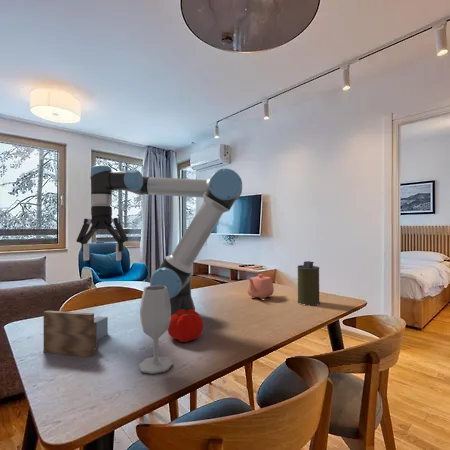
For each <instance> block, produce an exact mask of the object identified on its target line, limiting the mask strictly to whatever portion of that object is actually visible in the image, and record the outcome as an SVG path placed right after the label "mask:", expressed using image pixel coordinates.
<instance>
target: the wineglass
mask: <svg viewBox="0 0 450 450" xmlns="http://www.w3.org/2000/svg"><path fill="white" fill-rule="evenodd" d="M143 288H144V289H143V290H142V291H143V292H142V295H141V301H140V308H139V309H140V310H139V319H140V324H141V327H142V330H143V333H144V334H145V335H146V336H148V337H150V338H151V339H152V340H153V341H152V342H153V343H152V345H153V346H152V347H153V349H152V351H153V352H152V353H153V355H152V357H148V358H147V357H146V358H145V359H144V360H142V361H141V362H140V363H139V364H138V365H139V370H140V372H141V373H143V374H150V375H151V374H152V375H154V374H160V373H164V372H167V371H168V370H169V369H170V368H171V367H172V366H173V362H172V359H171V358H170V357H167V356H159V353H160V352H159V351H160V349H159V339H160V338H161V337H162V336H163V335H164V334H165V333H166V332H168V329H169V325H170V320H171V304H170V298H169V293H168V290H167V287H166V286H159V285H156V286H150V285H149V286H146V287H143Z"/></svg>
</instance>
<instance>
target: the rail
mask: <svg viewBox="0 0 450 450" xmlns="http://www.w3.org/2000/svg"><path fill="white" fill-rule="evenodd" d="M108 318H109V317H108V316H101V315H97V316H94V322H97V341H98V340H100V339H102V338H104V337H105V336H107V335H108V334H109V328H108V324H109V323H108Z"/></svg>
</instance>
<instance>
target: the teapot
mask: <svg viewBox="0 0 450 450" xmlns="http://www.w3.org/2000/svg"><path fill="white" fill-rule="evenodd" d="M274 289H275V288H274V283H273V281H272V278H271V277H270V276H265V275H264V274H261V273H258V274H257V276H252V277H250V278H248V285H247V290H246V291H247V294H248V296H250V298H251V297H255V298H259V299H265V298H267V297H271V296H272V295H273V294H274V292H275V291H274ZM265 300H266V299H265Z"/></svg>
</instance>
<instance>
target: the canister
mask: <svg viewBox="0 0 450 450" xmlns="http://www.w3.org/2000/svg"><path fill="white" fill-rule="evenodd" d="M314 263H315V262H314V261H311V260H309V261H307V260H305V261H303V265H302V264H300V265H299V264H298V265H297V303H298V304H299V303H301V304H300V305H302V304H305V305H304V306H308V305H314V306H318V305H317V304H319V305H320V304H321V303H320V267H319V266H317V265H316V266H315V265H314Z"/></svg>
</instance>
